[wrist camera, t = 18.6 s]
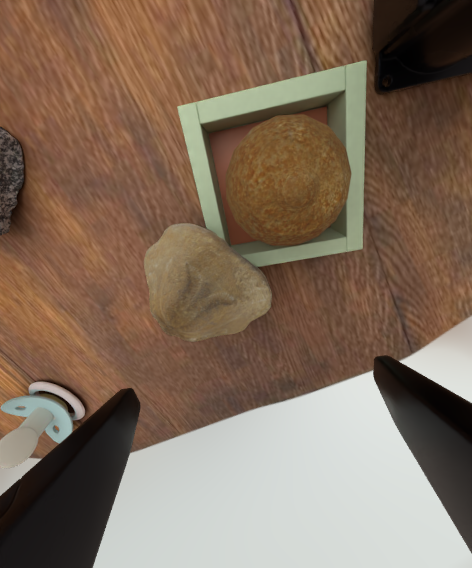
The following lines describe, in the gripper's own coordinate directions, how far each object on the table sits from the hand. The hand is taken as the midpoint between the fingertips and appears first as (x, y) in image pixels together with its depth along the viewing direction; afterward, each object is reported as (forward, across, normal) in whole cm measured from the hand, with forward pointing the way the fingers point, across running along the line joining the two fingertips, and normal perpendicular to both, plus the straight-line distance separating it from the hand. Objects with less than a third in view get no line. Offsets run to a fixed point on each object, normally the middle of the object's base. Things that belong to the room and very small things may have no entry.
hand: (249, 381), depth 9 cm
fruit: (+11, -3, -6) cm, 13 cm away
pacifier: (+12, +23, +12) cm, 29 cm away
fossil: (+6, +2, +2) cm, 7 cm away
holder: (+12, -3, -6) cm, 14 cm away
